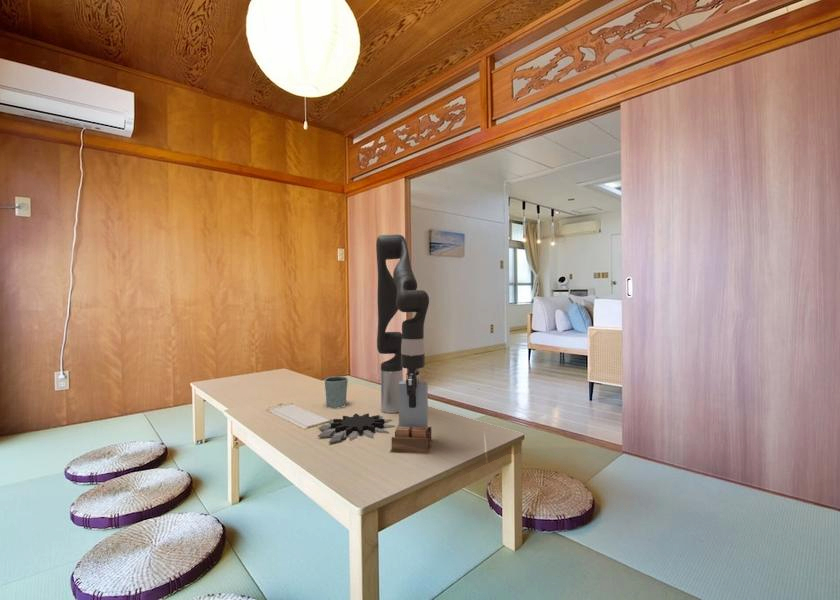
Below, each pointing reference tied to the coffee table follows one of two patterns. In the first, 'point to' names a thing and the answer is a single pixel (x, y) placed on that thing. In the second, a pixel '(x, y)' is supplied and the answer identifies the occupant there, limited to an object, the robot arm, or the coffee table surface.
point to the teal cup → (336, 391)
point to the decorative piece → (354, 427)
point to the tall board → (413, 415)
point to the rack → (412, 444)
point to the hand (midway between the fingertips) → (413, 405)
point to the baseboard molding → (299, 416)
